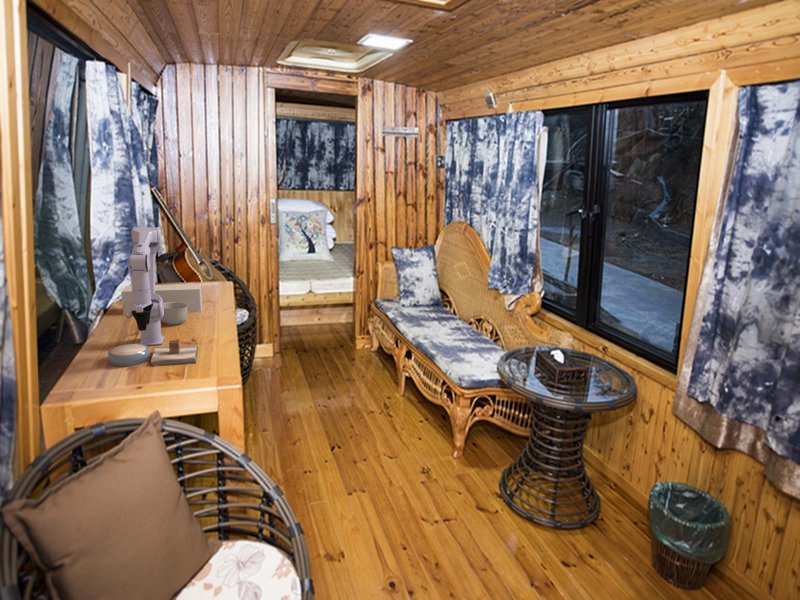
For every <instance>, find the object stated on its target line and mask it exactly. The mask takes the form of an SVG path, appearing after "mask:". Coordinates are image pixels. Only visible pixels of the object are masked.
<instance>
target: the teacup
mask: <svg viewBox="0 0 800 600" xmlns="http://www.w3.org/2000/svg"><path fill="white" fill-rule="evenodd" d="M163 306H164V316H163V317H162V318H160V321H161V322H164V323H165V324H166V325H169V326H176V325H181V324H184V322H186V321H187V319H188V313H189V312H188V310H187V307H188V305H187V304H186V303H183V302H167V303H163Z"/></svg>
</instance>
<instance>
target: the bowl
mask: <svg viewBox="0 0 800 600" xmlns="http://www.w3.org/2000/svg"><path fill="white" fill-rule="evenodd" d="M149 346H150V345H144V344H139V343H126V344H121V345H117V346H114V347H111V348H110V349H109V350H107V357H108V358H107V359H108V364H109V365H111V366H113V367H119V368H121V367H123V368H124V367H133V366H138V365H142V364H145V363H147V362H149V360H150V359H151V353H150V347H149ZM146 361H147V362H146Z"/></svg>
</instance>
